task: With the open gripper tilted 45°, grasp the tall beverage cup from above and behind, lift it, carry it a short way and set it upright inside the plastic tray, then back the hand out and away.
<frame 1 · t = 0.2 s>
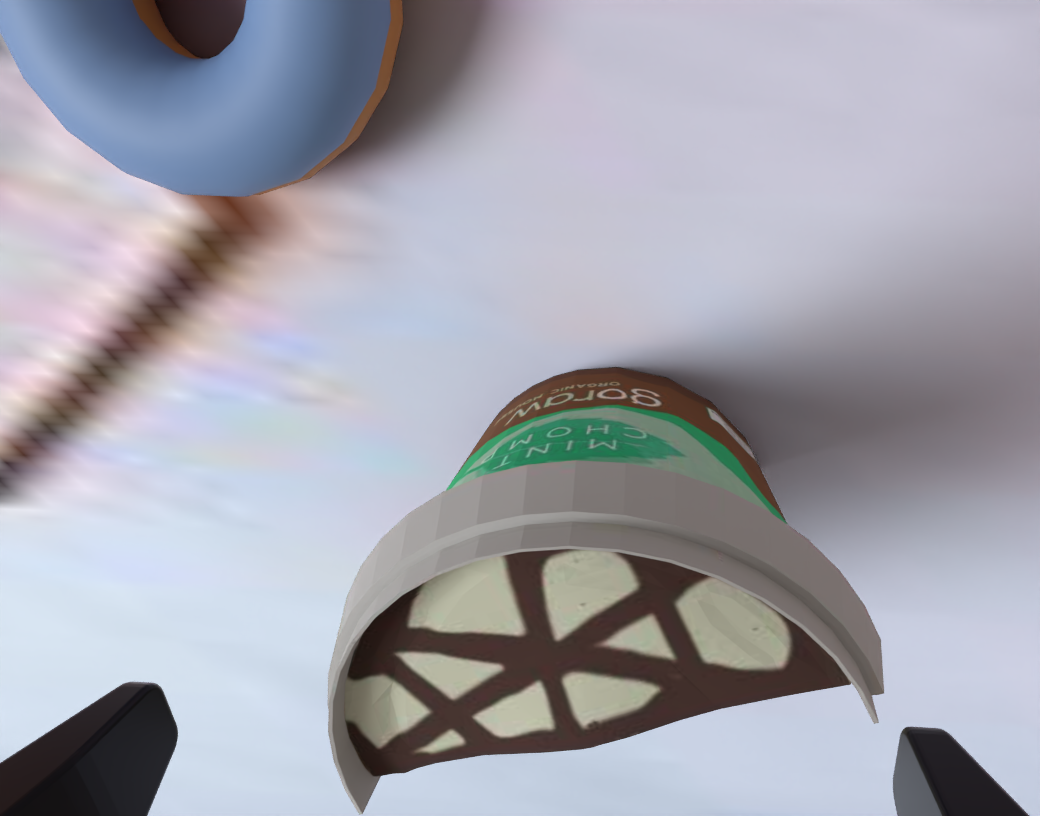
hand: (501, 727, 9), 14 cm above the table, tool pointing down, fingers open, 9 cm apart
food container: (579, 426, 24), on the table
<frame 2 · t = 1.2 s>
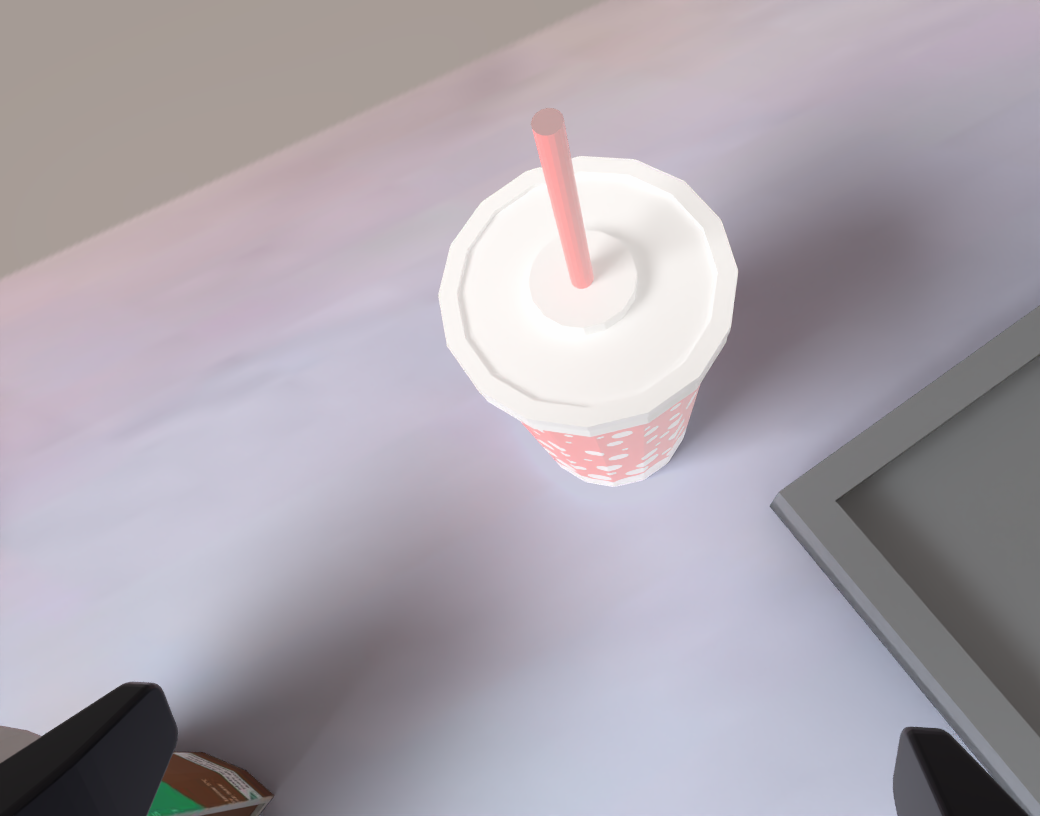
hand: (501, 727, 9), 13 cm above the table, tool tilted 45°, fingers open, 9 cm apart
beverage cup: (612, 416, 24), on the table
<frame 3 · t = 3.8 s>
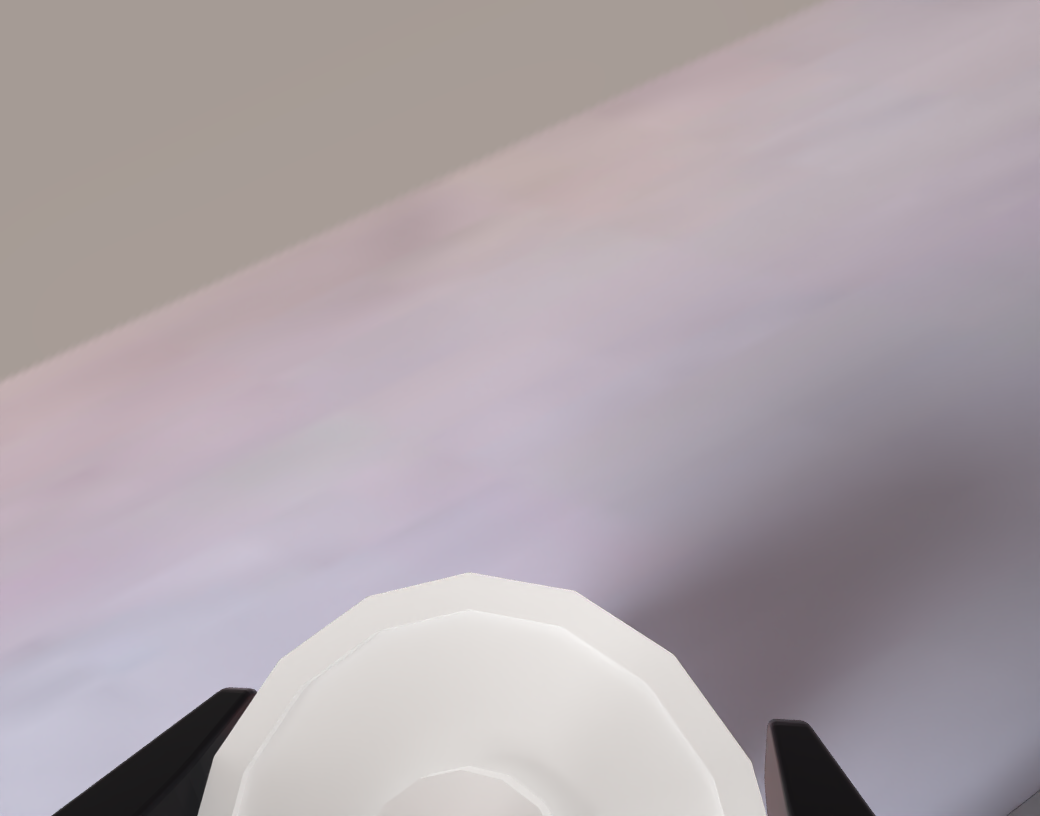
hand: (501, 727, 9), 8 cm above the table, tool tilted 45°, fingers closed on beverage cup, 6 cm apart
beverage cup: (572, 775, 16), on the table, touching gripper
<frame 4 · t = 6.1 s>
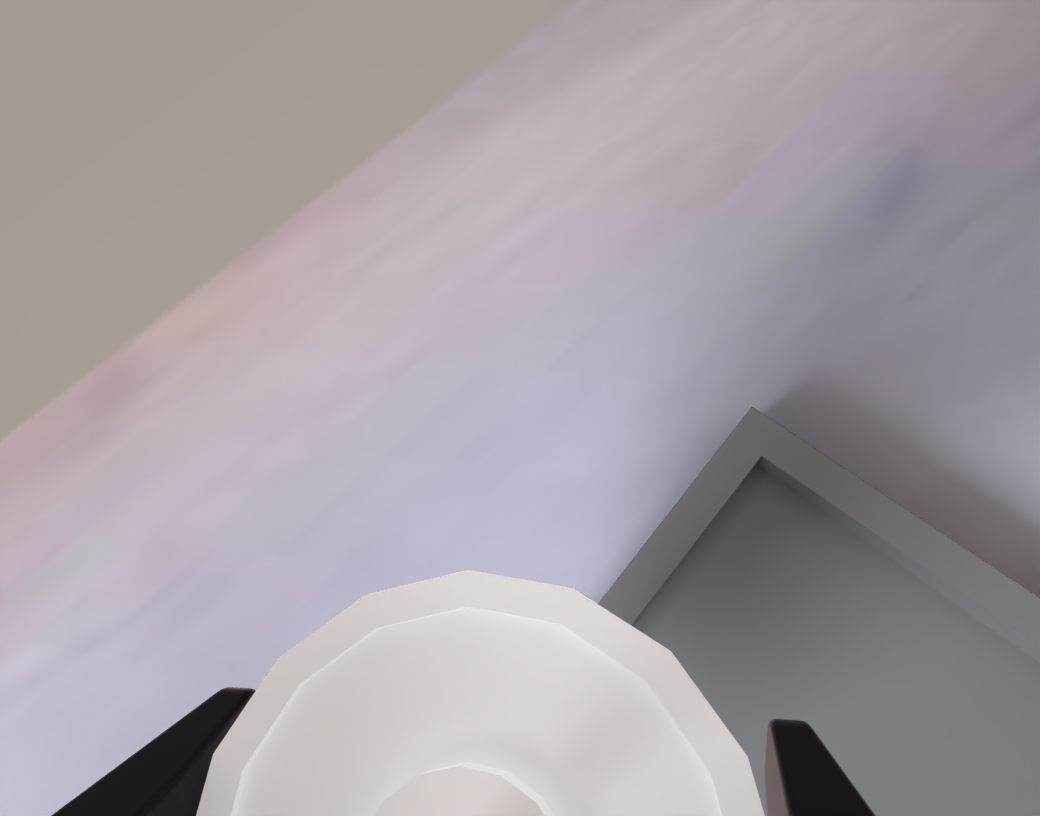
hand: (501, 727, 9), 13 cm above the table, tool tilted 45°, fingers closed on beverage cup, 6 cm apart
tray: (814, 790, 20), on the table
beverage cup: (568, 772, 16), point 5 cm above the table, touching gripper
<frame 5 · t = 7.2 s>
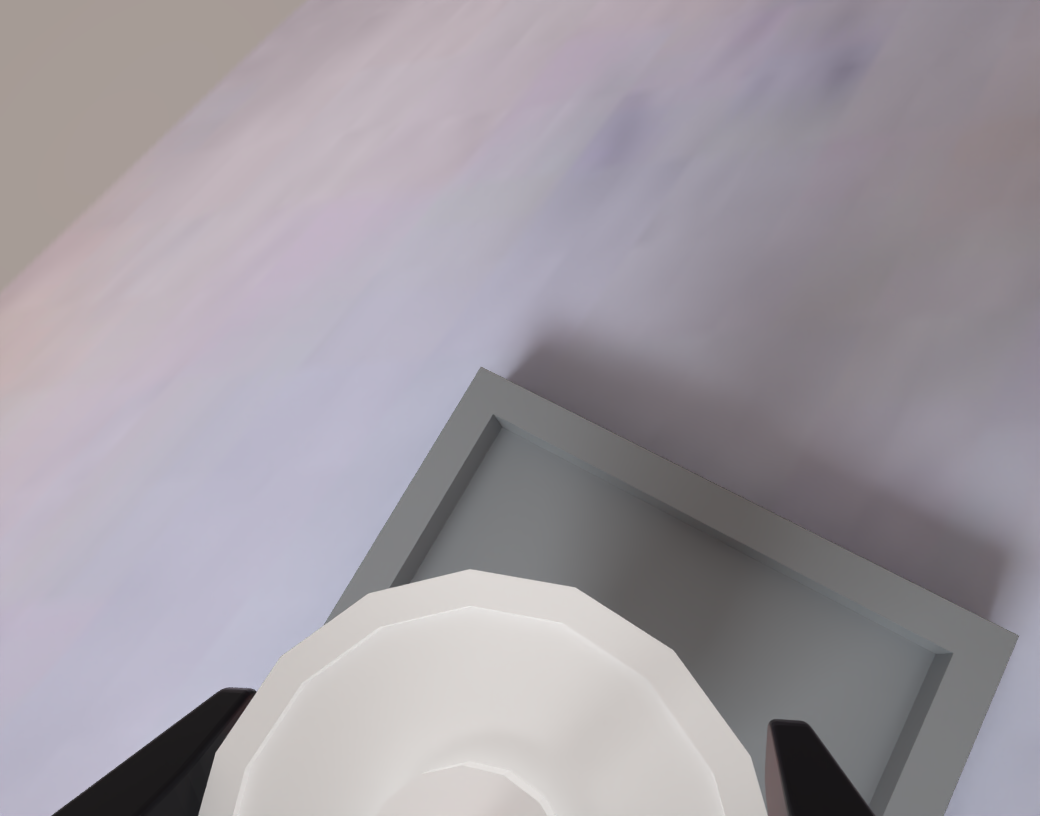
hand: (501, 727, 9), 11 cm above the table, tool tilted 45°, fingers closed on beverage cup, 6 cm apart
tray: (588, 743, 19), on the table
beverage cup: (570, 772, 16), point 3 cm above the table, touching gripper
when the fingers open (9 cm above the table, at t = 8.5 s): beverage cup stays where it is, resting on tray.
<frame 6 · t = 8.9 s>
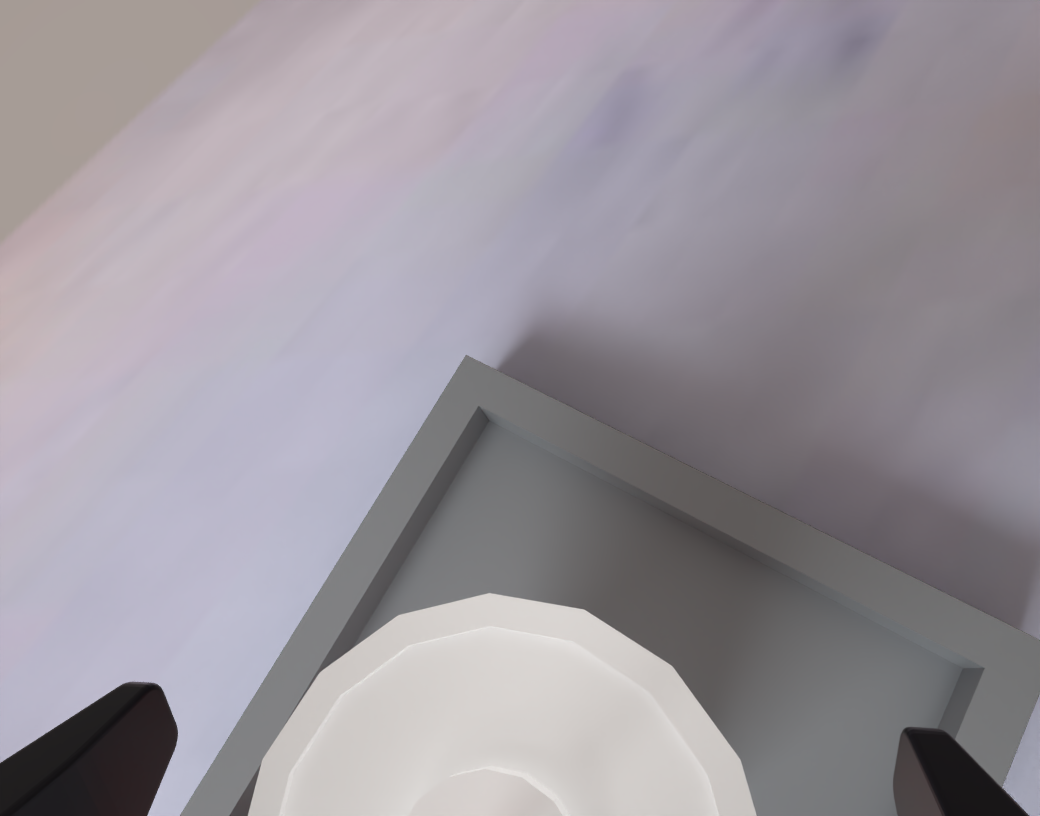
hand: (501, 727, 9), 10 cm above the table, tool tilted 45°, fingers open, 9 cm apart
tray: (581, 765, 18), on the table
beverage cup: (576, 779, 17), point 1 cm above the table, touching tray
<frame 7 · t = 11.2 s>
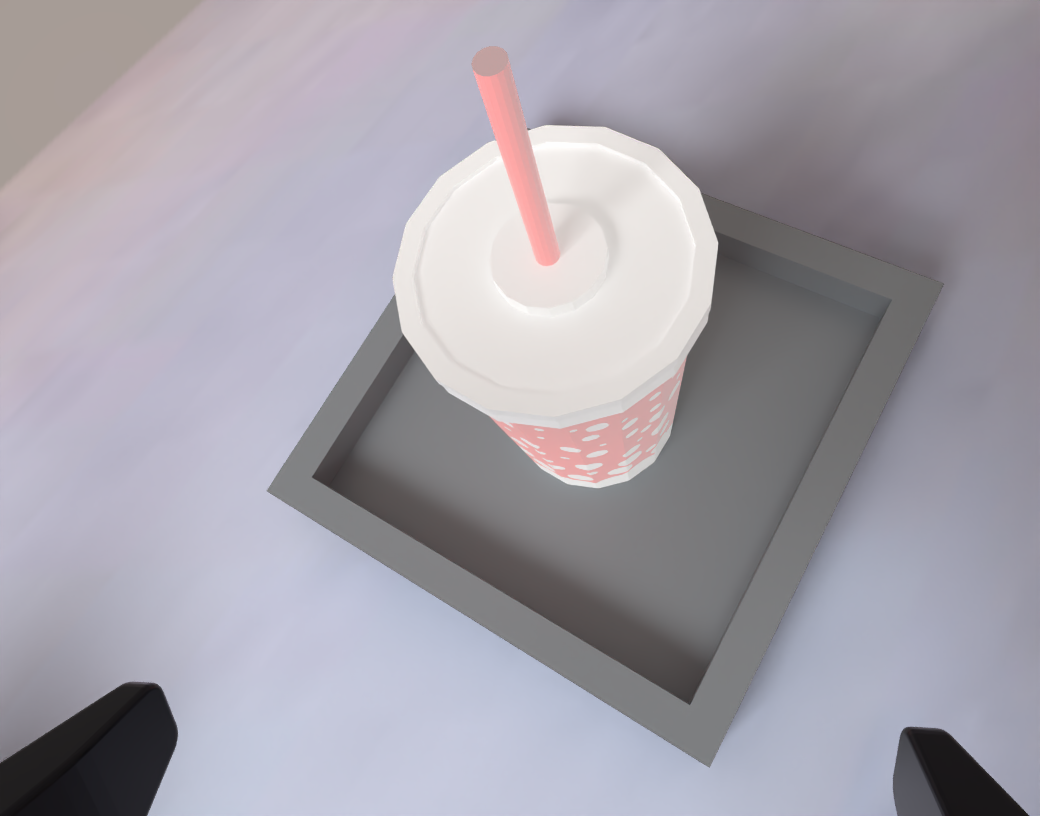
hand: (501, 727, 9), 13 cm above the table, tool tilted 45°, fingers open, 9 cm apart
tray: (598, 413, 23), on the table
beverage cup: (595, 414, 23), point 1 cm above the table, touching tray
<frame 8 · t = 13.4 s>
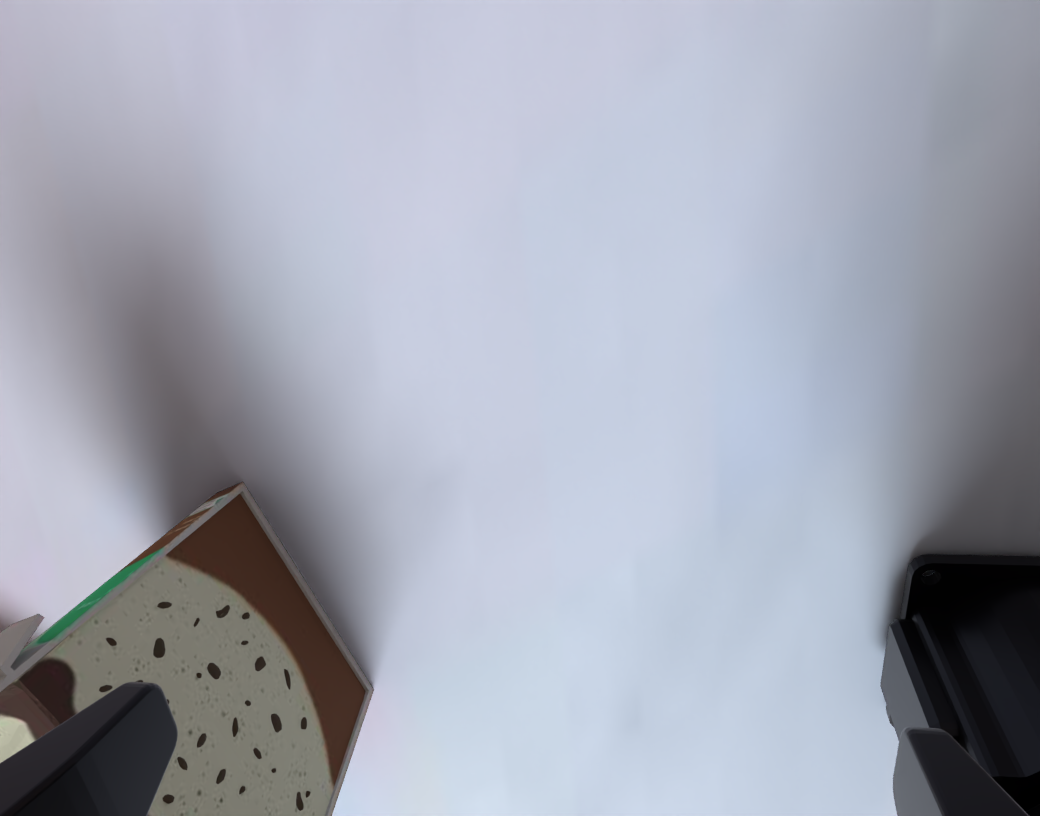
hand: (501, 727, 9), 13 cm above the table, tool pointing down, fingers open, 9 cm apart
food container: (244, 606, 28), on the table
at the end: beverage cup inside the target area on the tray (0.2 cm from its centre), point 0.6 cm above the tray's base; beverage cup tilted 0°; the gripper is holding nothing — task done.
